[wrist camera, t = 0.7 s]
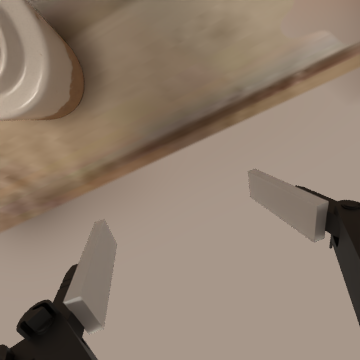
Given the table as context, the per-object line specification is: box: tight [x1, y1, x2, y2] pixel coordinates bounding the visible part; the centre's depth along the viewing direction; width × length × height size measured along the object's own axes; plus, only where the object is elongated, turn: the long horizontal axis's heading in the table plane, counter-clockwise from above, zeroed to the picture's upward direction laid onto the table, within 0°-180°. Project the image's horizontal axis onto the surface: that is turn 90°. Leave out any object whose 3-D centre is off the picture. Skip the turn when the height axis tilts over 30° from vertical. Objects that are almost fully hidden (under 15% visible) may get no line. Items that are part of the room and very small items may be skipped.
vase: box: [0, 0, 84, 121], centre depth 23 cm, size 15×15×17 cm
